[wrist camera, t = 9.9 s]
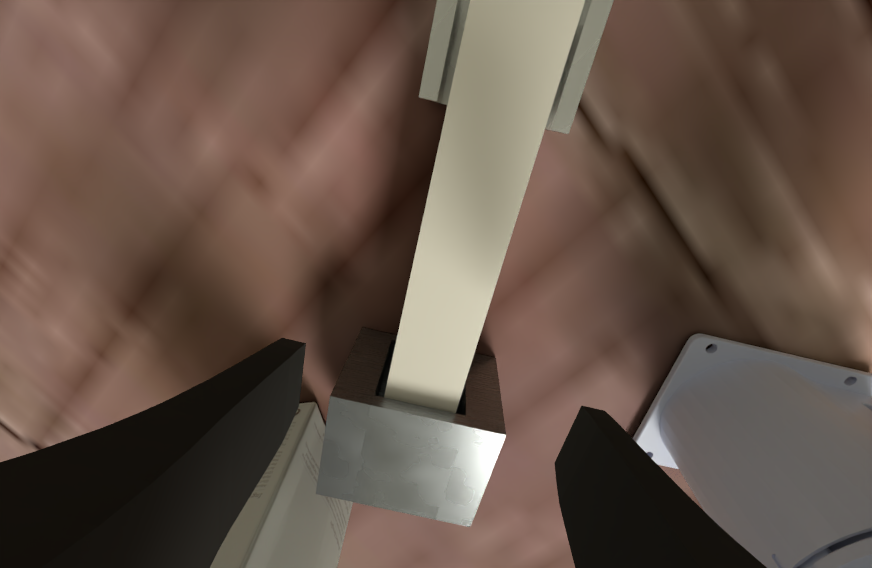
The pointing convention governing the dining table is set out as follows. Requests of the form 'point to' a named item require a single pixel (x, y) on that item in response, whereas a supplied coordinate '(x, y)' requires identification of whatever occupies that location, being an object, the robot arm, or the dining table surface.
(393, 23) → the dining table surface
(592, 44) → the sleeve
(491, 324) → the dining table surface
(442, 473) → the socket
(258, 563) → the skincare box
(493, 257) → the inner rod
